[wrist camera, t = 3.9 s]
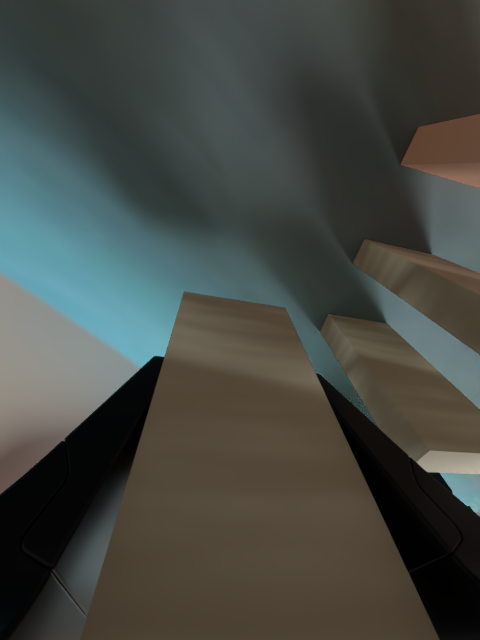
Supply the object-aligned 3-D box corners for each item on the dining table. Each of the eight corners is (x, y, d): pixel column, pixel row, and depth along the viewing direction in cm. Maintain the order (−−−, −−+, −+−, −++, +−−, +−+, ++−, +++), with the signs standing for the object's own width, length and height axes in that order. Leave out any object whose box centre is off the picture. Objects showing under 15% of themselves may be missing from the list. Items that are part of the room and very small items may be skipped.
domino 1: (275, 333, 13) (386, 662, 4) (181, 320, 12) (82, 701, 3) (285, 307, 12) (446, 654, 3) (183, 291, 11) (61, 704, 2)
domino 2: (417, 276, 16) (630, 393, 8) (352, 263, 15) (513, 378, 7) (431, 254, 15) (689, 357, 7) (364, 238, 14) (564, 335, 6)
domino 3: (376, 339, 19) (499, 474, 11) (319, 331, 18) (405, 471, 10) (386, 323, 18) (529, 456, 10) (328, 313, 17) (429, 450, 9)
